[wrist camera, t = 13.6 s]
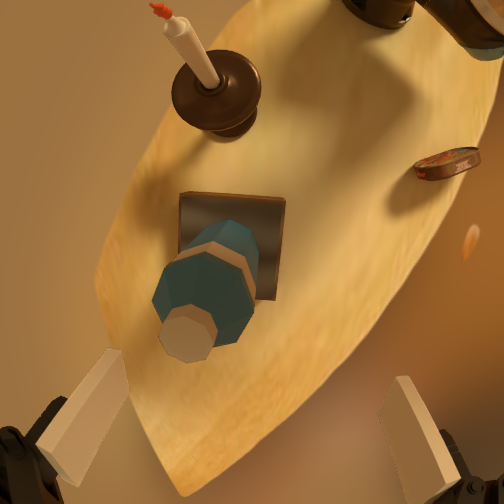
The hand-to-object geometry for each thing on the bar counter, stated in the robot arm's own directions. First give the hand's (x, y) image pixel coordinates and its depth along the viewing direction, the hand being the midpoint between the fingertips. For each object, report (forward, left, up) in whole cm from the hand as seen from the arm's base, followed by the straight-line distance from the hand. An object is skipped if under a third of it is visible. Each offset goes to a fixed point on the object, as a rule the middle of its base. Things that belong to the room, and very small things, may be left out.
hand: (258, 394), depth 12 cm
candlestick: (-20, -7, -38) cm, 44 cm away
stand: (+2, -5, -38) cm, 38 cm away
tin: (-17, +32, -38) cm, 53 cm away
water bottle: (+2, -5, -32) cm, 33 cm away
